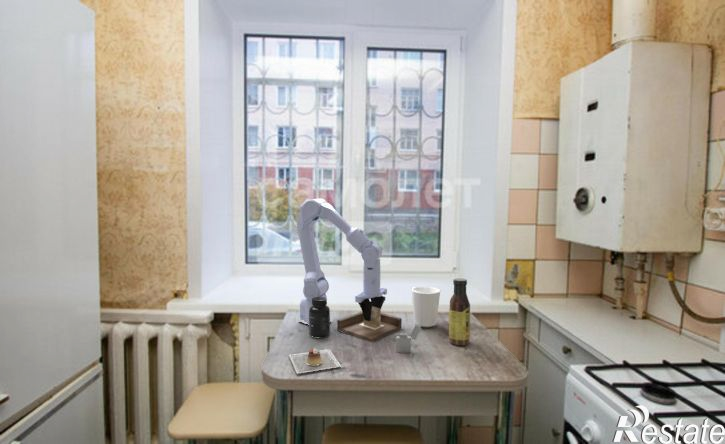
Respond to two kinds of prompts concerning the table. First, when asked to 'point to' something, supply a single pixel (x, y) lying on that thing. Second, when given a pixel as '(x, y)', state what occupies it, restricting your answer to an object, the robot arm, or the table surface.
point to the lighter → (406, 340)
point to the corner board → (358, 329)
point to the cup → (425, 306)
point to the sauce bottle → (459, 314)
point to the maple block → (374, 318)
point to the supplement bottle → (319, 317)
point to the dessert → (315, 359)
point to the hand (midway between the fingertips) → (371, 318)
